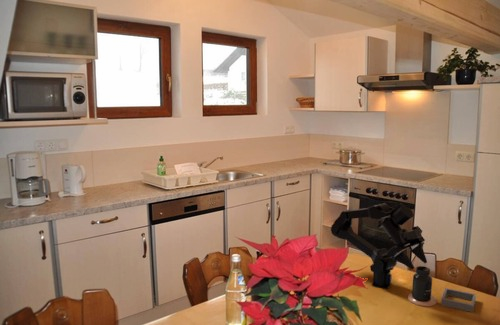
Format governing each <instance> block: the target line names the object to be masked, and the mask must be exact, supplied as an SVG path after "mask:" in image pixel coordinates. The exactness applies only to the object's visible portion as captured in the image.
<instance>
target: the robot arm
mask: <svg viewBox="0 0 500 325" xmlns="http://www.w3.org/2000/svg"><path fill="white" fill-rule="evenodd" d="M362 218H363V219H364V218H367V219H368V218H370V220H371V219H372V220H378V224H377V228H378V229H380V228H381V229H382V228H383V229H384V230H385V233H387V234H388V236H389V237H388V240H389V241H393V243H394V245H393V246H392V247H390V248H389V249H387V248H386V247H384V248H380V249H379V248H377V247H376V246H374V244H371V243H370V242H369V241H367V240H366V239H365V238H363V237H362V236H360V235H359V234H357V233H356V232H354V229H353V228H352V224H353V219H362ZM413 218H414V212H413V210H412V209H411V208H410V207H408V206H406V205H405V204H404V203H399V204H397V206H396V207H395V208H394V207H391V206H390V205H388V204H387V203H385V202H383V203H379V204H375V205H372V206H369V207H367V208H366V207H365V208H357V209H346V210H343V211H342V212H341V213H340V214H339V216H338V217H337V218H336V219H335V221H334V222H333V224H332V225H331V226H330V232H331V234H332V235H333V236H334V237H336V238H338V239H340V240H341V239H342V240H345V241H347V242H349V243H350V244H351V245H353V246H354V247H355V248H356V249H358V250H359V251H361V252H362V253H363V254H364V255H366V256H368V257H369V258H370V259H371V262H372V263H373V264H371V265H369V267H370V272H372V273H373V274H372V283H371V286H372V287H376V288H377V287H378V288H382V289H387V290H388V289H389V287H390V286H391V285H392V281H393V280H392V278H393V275H392V273H391V271H393V270H394V267H396V266H397V263H398V262H399V263H401V264H403V265H404V266H406V267H407V268H409V269H410V270H414V269H415V266H414V264H413V262H412V261H411V259H410V257H409V256H408V252H407V251H408V250H407V249H409V250H410V253H412V254H414V255H415V257H417V258H418V260H420V261H421V262H422V263H424V264H427V263H428V260H427V257H426V255H425V252H424V245H425V241H426V239H425V238H424V237H423V235H422V233H423V230H422V229H421V227H420V226H418V225H416V226H413V227H412V228H411V229H410V230H407V229H406V228H403V227H401V226H404V224H406V223H407V222H409V220H411V219H413ZM381 219H382V220H381Z"/></svg>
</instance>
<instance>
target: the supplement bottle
mask: <svg viewBox="0 0 500 325" xmlns="http://www.w3.org/2000/svg"><path fill="white" fill-rule="evenodd" d="M415 269H416V270H415V273H413V276H412V291H411V293H412V297H413V298H414V299H415V300H417V301H421V302H428V301H430V300H431V296H432V290H433V289H432V288H433V277H432V276H431V269H430V268H429V267H427V266H425V265H424V266H423V265H421V266H416V268H415Z"/></svg>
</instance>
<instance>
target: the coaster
mask: <svg viewBox="0 0 500 325" xmlns="http://www.w3.org/2000/svg"><path fill="white" fill-rule="evenodd" d="M407 295H408V297H407V299H408V301H409V302H410V303H411V304H413V305H416V306H420V307H425V308H426V307H427V308H429V307H430V308H431V307H434V306H436V304H437V299H436V297H434V296H433V295H431V300H430V301H428V302H421V301H417V300H415V299H414V298H413V297H412V292H411V293H409V294H407Z"/></svg>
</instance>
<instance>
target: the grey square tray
mask: <svg viewBox="0 0 500 325" xmlns="http://www.w3.org/2000/svg"><path fill="white" fill-rule="evenodd" d="M442 293H443V294H442V295H441V299H440V300H441V301H440V305H441V306H444V307H448V308H453V309H458V310H461V311H466V312H470V313H474V309H475V304H476V295H477V294H475V293H472V292H471V293H470V292H466V291H462V290H457V289H452V288H448V287H446V288H444V291H443V292H442ZM447 296H450V297H453V298H454V297H455V298H459V299H462V300H463V299H464V300H467V301H471V303H467V302H462V301H458V300H454V299H453V300H452V299H449V298H447Z"/></svg>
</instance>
